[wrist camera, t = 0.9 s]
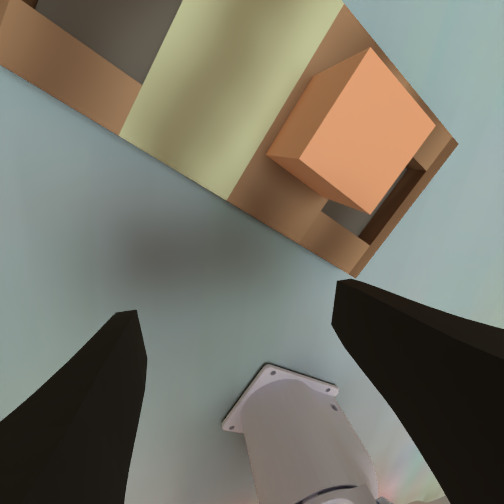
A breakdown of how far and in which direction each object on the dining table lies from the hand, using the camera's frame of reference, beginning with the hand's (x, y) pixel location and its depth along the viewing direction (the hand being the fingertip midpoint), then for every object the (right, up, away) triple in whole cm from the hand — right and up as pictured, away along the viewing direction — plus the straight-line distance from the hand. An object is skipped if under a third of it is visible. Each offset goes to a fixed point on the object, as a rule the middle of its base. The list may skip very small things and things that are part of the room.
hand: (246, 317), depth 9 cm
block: (+4, +9, +5) cm, 11 cm away
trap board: (+1, +11, +6) cm, 12 cm away
